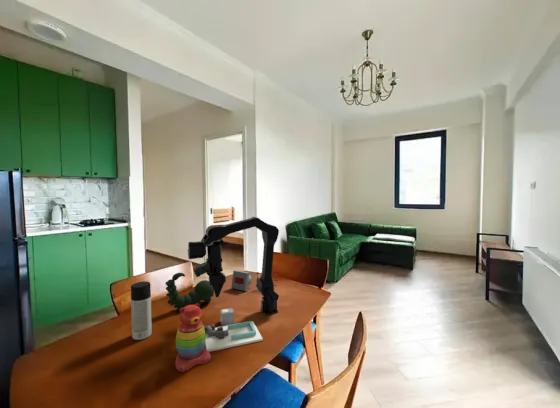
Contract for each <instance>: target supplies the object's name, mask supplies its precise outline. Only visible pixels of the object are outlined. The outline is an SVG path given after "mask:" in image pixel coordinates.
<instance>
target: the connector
mask: <svg viewBox="0 0 560 408" xmlns="http://www.w3.org/2000/svg"><path fill="white" fill-rule="evenodd" d="M219 314H220V318H219V319H220V325H221V326H227V325H231V324H235V311H234V309H233V308H232V307H231V308H230V307H229V308H223V309H220V313H219Z"/></svg>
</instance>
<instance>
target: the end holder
mask: <svg viewBox="0 0 560 408" xmlns="http://www.w3.org/2000/svg"><path fill="white" fill-rule="evenodd" d="M246 326H249V327H250V329H251V332H246V333H241V334H236V335H231V340H237V339H242V338H247V337H252V336H255V335H256V330H255V328H254V327H253V325H252V323H251V322H250V320H249V321H248V320H247V321H244V322H237V323H234V324H230V325H228V330H230V329H235V328H241V327H246Z"/></svg>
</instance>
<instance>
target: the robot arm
mask: <svg viewBox="0 0 560 408" xmlns="http://www.w3.org/2000/svg"><path fill="white" fill-rule="evenodd" d="M251 228H252V229H253V228H256V229H258V230H259V231H261V238H262V240H263V254H262V265H261V273H262V274H261V276H260V277H258V278H257V277H256V281H257V282H256V283H257V284H256V285H255V287H256V290H257V291H258V293H260V295H261V296H262V297H261V300H260V310H261V312H263V315H265V316H266V315H270V314H271V315H272V314H276V313H279V310H278V300H279V297H280V295H279V294H278V293H277V292H276V291H275V286H274V285H275V284H274V280H273V275H272V274H273V266H274V265H273V262H274V250H275V245H276V243H277V241H278V237H279V233H280V229H279V228H278V227H277V226H276V225H273V224H270V223H267V222H265V221H264V220H262V219H260V218H259V217H257V216H252V217H249V218H246V219H243V220H239V221H236V222H235V221H234V222H232V223H228V224H212V225H209V226H207V227H206V230H205V233H204V235H203V237H202V238H201V240H200V241H188V243H187V244H188V245H187V257H188V260H195V259H203V258H204V257H205V256H206V255H207V256H206V257H207V258H206V259H205V260H206V261H204V262H202V263H200V264H197V265H195V266H193V269H192V270H193V272H194V275H195V276H196V278H199V277H200V276H202V275H203V274H206V275H207V276H208V281H209V284H210V285H212V286H213V289H214V295H215V298H220V294H221V291H222V289H223V288H224V284H225V283H226V281H227V277H226V275H225V273H224V272H223V270H224V268H223V257H222V246H226V245H227V242H225V241H224V240H223V239H224V238H225V237H227V236H229V235H231V234H234V233H237V232H240V231H244V230H248V229H251Z"/></svg>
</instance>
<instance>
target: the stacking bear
mask: <svg viewBox="0 0 560 408" xmlns="http://www.w3.org/2000/svg"><path fill="white" fill-rule="evenodd" d="M200 306H201V304H200V305H199V304H198V303H197V304H195V305H188V306H186V307H184V308H182V309H181V310H180V311H179V320H180V324H179V327H178V328H177V331H176V336H175V347H176V351H177V355H176V358H175V369H176V370H177V371H178V372H181V373H184V372H187V371H188V370H191V368H193V367H194V366H197V365H204V364H207V363H209V362H210V361H211V360H212V355H211V353H210V352H208V351H207V350H206V345H205V341H206V334H205V330H204V326H203V325H204V324H203V322H202V318H203V313H202V309H201V308H200Z"/></svg>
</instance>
